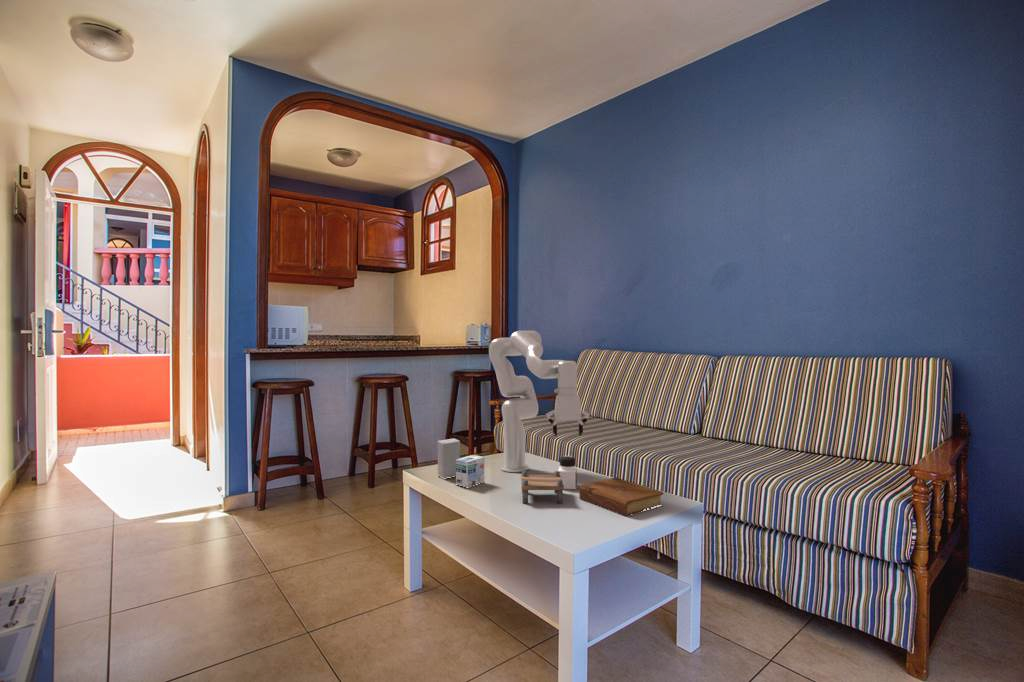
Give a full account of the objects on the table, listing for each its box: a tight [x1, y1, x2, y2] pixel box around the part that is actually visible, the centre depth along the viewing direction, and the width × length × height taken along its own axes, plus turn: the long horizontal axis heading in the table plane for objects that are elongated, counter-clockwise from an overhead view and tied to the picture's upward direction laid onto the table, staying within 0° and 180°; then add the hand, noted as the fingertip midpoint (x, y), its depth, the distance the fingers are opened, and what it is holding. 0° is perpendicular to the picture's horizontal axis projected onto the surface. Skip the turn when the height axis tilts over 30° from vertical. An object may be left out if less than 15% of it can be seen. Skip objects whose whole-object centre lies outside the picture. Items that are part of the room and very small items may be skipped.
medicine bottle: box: [557, 455, 578, 490], centre depth 210 cm, size 7×7×12 cm
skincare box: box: [437, 438, 461, 478], centre depth 225 cm, size 8×7×16 cm
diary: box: [578, 477, 664, 517], centre depth 189 cm, size 23×19×6 cm
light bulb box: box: [455, 454, 485, 488], centre depth 214 cm, size 11×7×11 cm, turn 143°
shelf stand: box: [520, 470, 565, 505], centre depth 196 cm, size 15×15×8 cm
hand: (567, 435), depth 209 cm, fingers open, 9 cm apart
